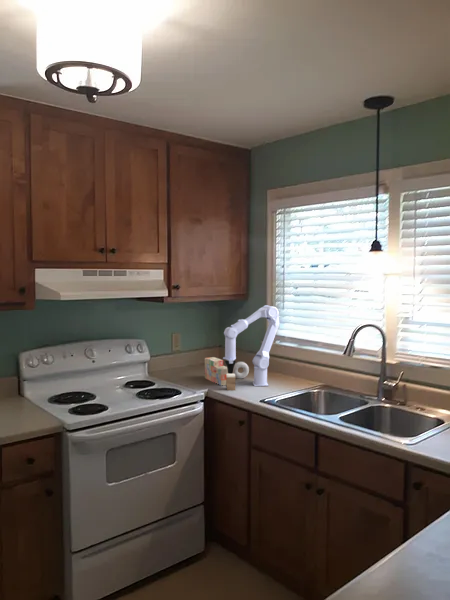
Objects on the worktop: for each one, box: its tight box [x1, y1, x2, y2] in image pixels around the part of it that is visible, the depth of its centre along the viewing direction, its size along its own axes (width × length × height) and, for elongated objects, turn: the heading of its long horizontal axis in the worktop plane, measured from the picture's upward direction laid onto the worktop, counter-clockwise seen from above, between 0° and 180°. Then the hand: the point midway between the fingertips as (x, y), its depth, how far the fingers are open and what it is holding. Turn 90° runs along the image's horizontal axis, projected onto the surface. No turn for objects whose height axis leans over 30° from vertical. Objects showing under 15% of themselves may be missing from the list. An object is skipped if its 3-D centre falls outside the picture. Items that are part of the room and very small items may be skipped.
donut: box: [233, 361, 250, 380], centre depth 297 cm, size 10×4×10 cm, turn 101°
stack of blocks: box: [204, 356, 228, 386], centre depth 290 cm, size 21×6×12 cm, turn 27°
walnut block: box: [225, 374, 236, 391], centre depth 272 cm, size 4×4×8 cm
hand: (230, 374), depth 277 cm, fingers closed
